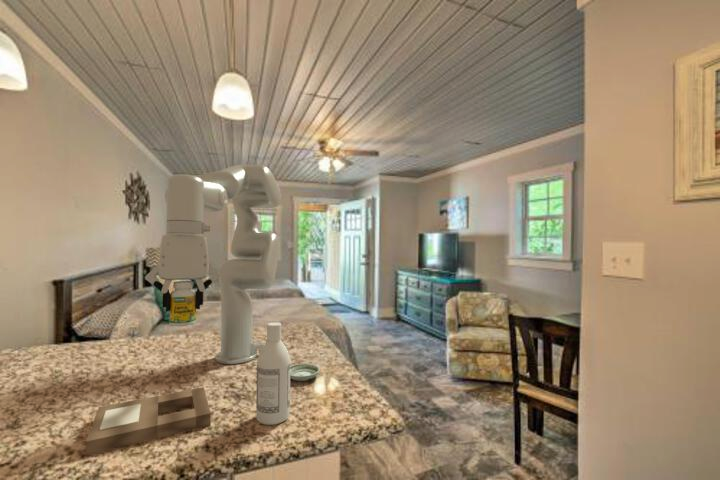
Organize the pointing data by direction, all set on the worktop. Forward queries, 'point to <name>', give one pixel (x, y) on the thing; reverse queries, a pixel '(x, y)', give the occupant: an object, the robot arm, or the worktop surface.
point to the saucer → (303, 371)
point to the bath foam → (273, 379)
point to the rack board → (147, 420)
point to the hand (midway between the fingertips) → (182, 308)
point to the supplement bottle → (182, 304)
